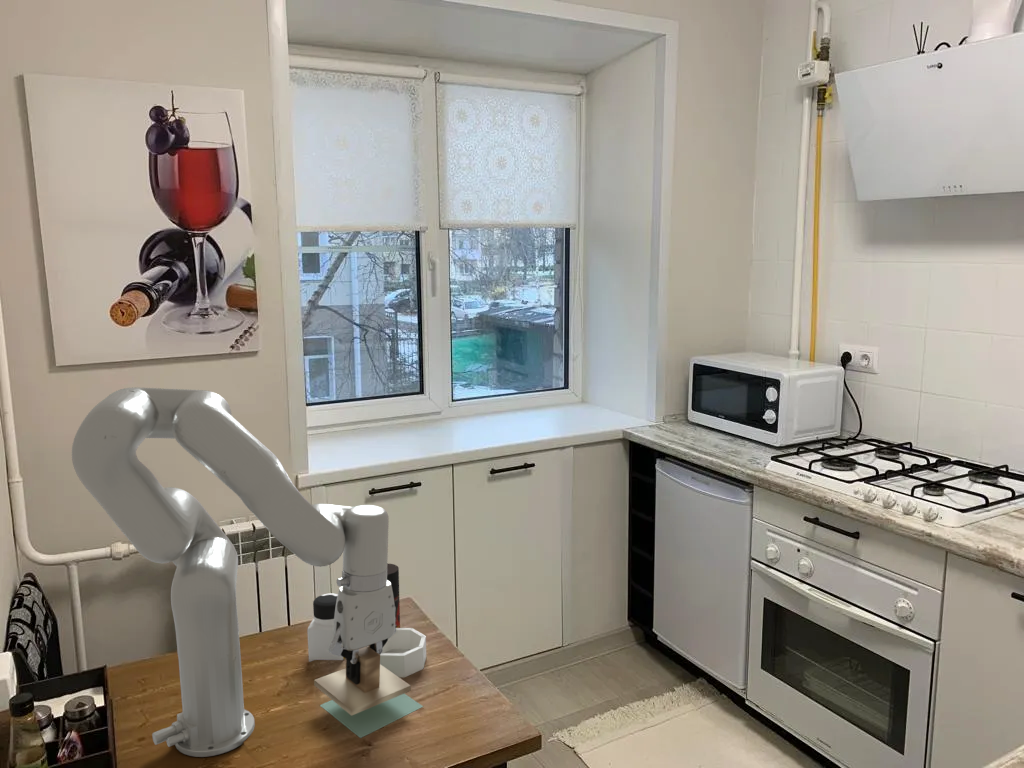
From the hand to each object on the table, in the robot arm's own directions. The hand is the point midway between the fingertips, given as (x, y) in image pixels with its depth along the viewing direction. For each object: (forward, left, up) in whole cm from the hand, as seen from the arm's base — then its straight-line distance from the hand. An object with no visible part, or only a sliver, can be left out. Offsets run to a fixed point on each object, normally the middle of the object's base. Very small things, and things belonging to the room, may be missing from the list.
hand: (362, 676), depth 136 cm
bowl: (+13, +8, -6) cm, 17 cm away
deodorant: (+18, +19, -7) cm, 27 cm away
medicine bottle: (+6, +21, -7) cm, 23 cm away
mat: (+1, -1, -6) cm, 7 cm away
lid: (0, 0, -2) cm, 2 cm away
